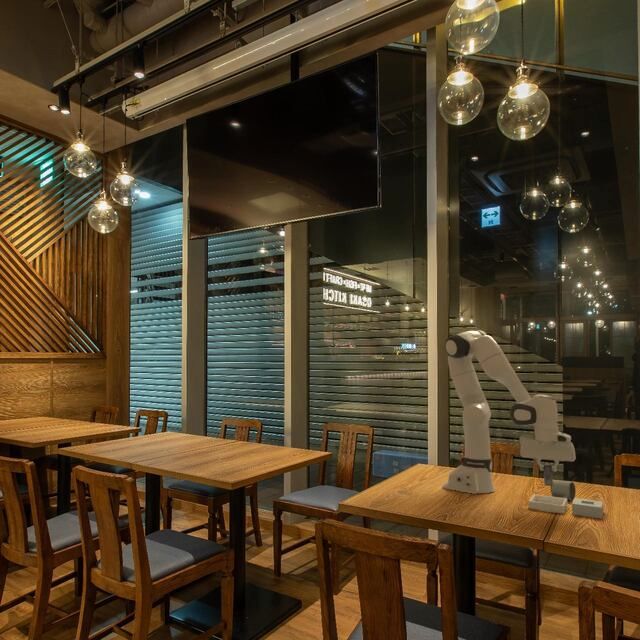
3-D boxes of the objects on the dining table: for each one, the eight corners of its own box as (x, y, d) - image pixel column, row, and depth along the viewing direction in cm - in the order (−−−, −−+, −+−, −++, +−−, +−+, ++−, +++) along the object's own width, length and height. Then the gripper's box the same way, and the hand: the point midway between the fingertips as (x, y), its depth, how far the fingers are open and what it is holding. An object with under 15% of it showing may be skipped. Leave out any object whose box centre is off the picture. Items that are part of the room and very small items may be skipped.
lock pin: (543, 485, 205) (543, 464, 206) (545, 483, 208) (544, 463, 209) (552, 486, 204) (551, 465, 205) (553, 484, 207) (552, 464, 207)
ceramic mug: (556, 495, 225) (555, 477, 226) (576, 498, 219) (575, 480, 220) (546, 500, 218) (546, 481, 218) (567, 504, 212) (566, 484, 212)
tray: (528, 508, 203) (528, 501, 204) (533, 501, 214) (533, 494, 214) (564, 514, 197) (563, 506, 197) (567, 506, 208) (567, 498, 208)
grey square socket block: (572, 514, 197) (571, 503, 197) (574, 508, 205) (574, 497, 206) (602, 518, 192) (601, 507, 192) (603, 512, 200) (603, 501, 200)
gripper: (517, 434, 210) (519, 469, 209) (573, 438, 200) (575, 474, 199) (520, 432, 216) (521, 466, 215) (575, 436, 205) (576, 471, 204)
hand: (548, 470), depth 206 cm, fingers closed on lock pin, 3 cm apart
